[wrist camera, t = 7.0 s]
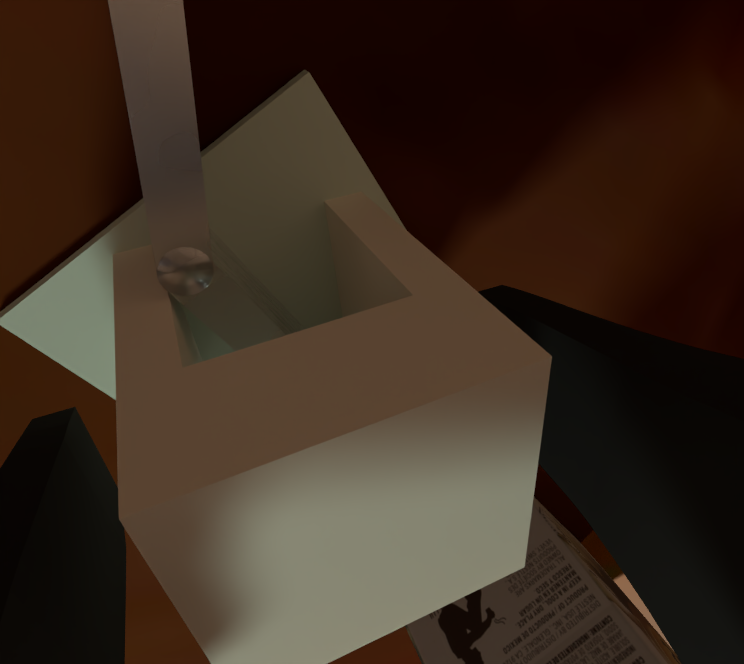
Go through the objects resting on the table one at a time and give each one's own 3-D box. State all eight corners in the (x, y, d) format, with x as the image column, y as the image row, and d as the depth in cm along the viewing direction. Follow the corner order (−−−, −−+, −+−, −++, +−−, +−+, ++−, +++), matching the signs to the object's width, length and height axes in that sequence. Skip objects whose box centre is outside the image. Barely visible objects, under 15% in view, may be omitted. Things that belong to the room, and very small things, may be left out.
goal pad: (245, 477, 14) (247, 485, 14) (-2, 313, 10) (-5, 322, 9) (455, 313, 14) (461, 319, 14) (304, 69, 9) (309, 71, 9)
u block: (381, 362, 13) (524, 567, 9) (188, 428, 12) (239, 706, 8) (361, 191, 11) (551, 356, 6) (112, 254, 10) (118, 519, 5)
